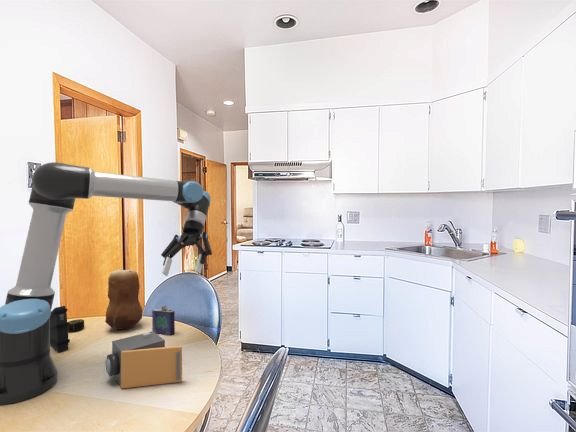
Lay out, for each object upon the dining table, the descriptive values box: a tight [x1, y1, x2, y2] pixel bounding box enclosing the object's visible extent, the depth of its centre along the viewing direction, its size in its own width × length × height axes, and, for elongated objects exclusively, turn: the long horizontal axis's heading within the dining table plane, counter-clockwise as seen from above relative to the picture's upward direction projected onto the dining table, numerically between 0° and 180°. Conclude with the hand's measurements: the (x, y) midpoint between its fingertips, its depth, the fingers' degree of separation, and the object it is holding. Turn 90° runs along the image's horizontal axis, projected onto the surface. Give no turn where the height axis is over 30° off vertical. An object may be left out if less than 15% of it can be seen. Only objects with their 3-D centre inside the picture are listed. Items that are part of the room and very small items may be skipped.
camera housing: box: [104, 330, 166, 387], centre depth 93 cm, size 14×10×11 cm
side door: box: [120, 345, 183, 389], centre depth 87 cm, size 16×2×10 cm, turn 104°
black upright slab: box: [50, 305, 71, 353], centre depth 112 cm, size 4×13×15 cm, turn 50°
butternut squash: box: [104, 269, 143, 330], centre depth 131 cm, size 14×13×25 cm
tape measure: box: [67, 318, 85, 333], centre depth 128 cm, size 7×7×4 cm
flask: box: [151, 304, 176, 337], centre depth 125 cm, size 10×3×12 cm, turn 76°
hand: (181, 273), depth 112 cm, fingers open, 13 cm apart
